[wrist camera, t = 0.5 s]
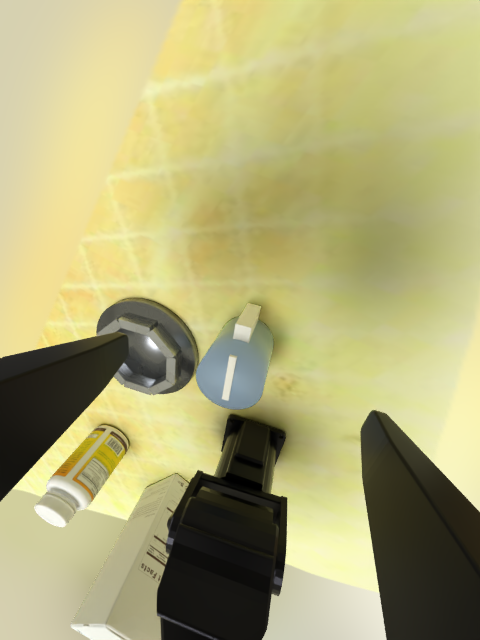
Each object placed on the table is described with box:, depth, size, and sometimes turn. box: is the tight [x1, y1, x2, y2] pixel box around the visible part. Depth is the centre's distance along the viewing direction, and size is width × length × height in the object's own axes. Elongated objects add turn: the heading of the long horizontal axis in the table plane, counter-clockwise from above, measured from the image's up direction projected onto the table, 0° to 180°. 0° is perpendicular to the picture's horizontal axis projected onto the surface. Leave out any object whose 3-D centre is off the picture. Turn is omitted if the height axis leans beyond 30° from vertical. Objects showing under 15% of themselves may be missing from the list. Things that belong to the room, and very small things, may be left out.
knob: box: [196, 303, 274, 409], centre depth 20 cm, size 6×5×6 cm
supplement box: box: [71, 474, 189, 640], centre depth 32 cm, size 9×9×15 cm
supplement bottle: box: [35, 425, 129, 527], centre depth 32 cm, size 6×6×10 cm
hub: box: [97, 298, 198, 395], centre depth 25 cm, size 11×11×2 cm
